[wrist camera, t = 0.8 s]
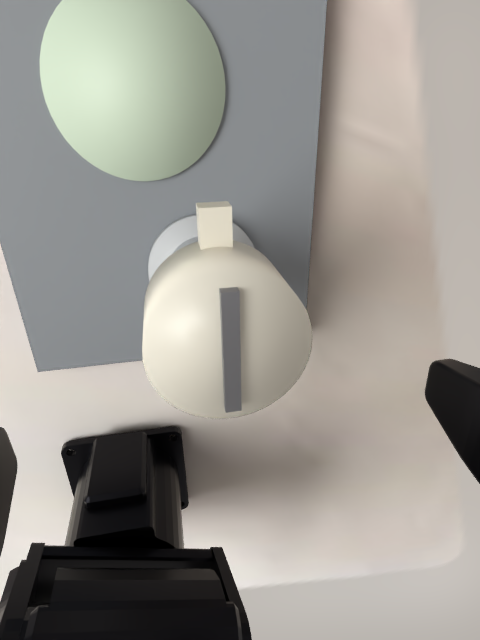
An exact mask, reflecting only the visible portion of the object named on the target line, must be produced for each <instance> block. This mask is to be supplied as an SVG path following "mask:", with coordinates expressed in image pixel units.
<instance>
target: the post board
mask: <svg viewBox="0 0 480 640" xmlns="http://www.w3.org/2000/svg"><path fill="white" fill-rule="evenodd" d="M326 8H327V0H0V244H1V247H2V250H3V254H4V257H5V261H6V264H7V268H8V271H9V274H10V278H11V281H12V285H13V288H14V292H15V295H16V298H17V302H18V305H19V309H20V312H21V316H22V319H23V322H24V326H25V329H26V333H27V336H28V340H29V343H30V346H31V350H32V353H33V357H34V360H35V364H36V367H37V370H38V372H42V371H51V370H60V369H69V368H78V367H87V366H96V365H104V364H113V363H122V362H131V361H140V360H143V357H142V342H143V319H144V301H145V294H146V290H147V287H148V285H149V282H150V280H151V278H152V276H153V274H154V273H155V271H156V270H157V269H158V267H159V266H160V265H161V264H162V263H163V262H164V261H165V260H166V259H167V258H168V257H169V256H170V255H172V254H173V253H174V252H176V251H177V250H179V249H181V248H183V247H184V246H187V245H189V244H192V243H194V242H198V230H197V214H196V203H203V202H222V201H228V202H229V203H230V205H231V206H232V230H233V240H234V241H238V242H242V243H244V244H247V245H249V246H251V247H253V248H255V249H256V250H258V251H259V252H261V253H262V254H263V255H264V256H265V257H266V258H267V259H268V260H269V261H270V262H271V263H272V264H273V266H274V267H275V268H276V269H277V271H278V272H279V273H280V275H281V276H282V277H283V278H284V280H285V281H286V282H287V283H288V285H289V286H290V287H291V289H292V290H293V291H294V292H295V294H296V295H297V296H298V298H299V299H300V300H301V302H302V303H303V305H304V307H305V309H306V310H307V295H308V280H309V265H310V249H311V234H312V219H313V204H314V189H315V174H316V159H317V144H318V129H319V114H320V99H321V83H322V68H323V53H324V38H325V23H326Z"/></svg>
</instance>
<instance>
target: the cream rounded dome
mask: <svg viewBox="0 0 480 640" xmlns="http://www.w3.org/2000/svg"><path fill="white" fill-rule="evenodd" d="M196 214H197V230H198V242H194V243H192V244H189V245H187V246H184V247H183V248H181V249H179V250H177V251H176V252H174V253H173V254H172V255H170V256H169V257H168V258H167V259H166V260H165V261H164V262H163V263H162V264H161V265H160V266H159V267H158V269H157V270H156V271H155V273H154V274H153V276H152V278H151V280H150V282H149V285H148V287H147V290H146V294H145V301H144V319H143V342H142V357H143V364H144V369H145V372H146V374H147V377H148V379H149V381H150V383H151V384H152V386H153V388H154V389H155V390H156V391H157V393H158V394H159V395H160V396H161V397H162V398H163V399H164V400H165V401H166V402H168V403H169V404H171V405H172V406H174V407H175V408H177V409H179V410H181V411H183V412H186V413H188V414H191V415H194V416H198V417H203V418H211V419H226V418H235V417H240V416H244V415H247V414H251V413H254V412H256V411H258V410H261V409H263V408H265V407H267V406H269V405H270V404H272V403H273V402H275V401H276V400H278V399H279V398H280V397H282V396H283V395H284V394H285V393H286V392H287V391H288V390H289V389H290V388H291V387H292V386H293V385H294V384H295V383H296V381H297V380H298V379H299V377H300V376H301V374H302V372H303V371H304V369H305V366H306V364H307V362H308V359H309V356H310V352H311V347H312V328H311V322H310V319H309V315H308V313H307V311H306V309H305V307H304V305H303V303H302V302H301V300H300V299H299V298H298V296H297V295H296V294H295V292H294V291H293V290H292V289H291V287H290V286H289V285H288V283H287V282H286V281H285V280H284V278H283V277H282V276H281V275H280V273H279V272H278V271H277V269H276V268H275V267H274V266H273V264H272V263H271V262H270V261H269V260H268V259H267V258H266V257H265V256H264V255H263V254H262V253H261V252H259V251H258V250H256V249H255V248H253V247H251V246H249V245H247V244H244V243H242V242H238V241H234V240H233V230H232V206H231V205H230V203H229V202H228V201H222V202H203V203H196Z"/></svg>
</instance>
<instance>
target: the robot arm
mask: <svg viewBox="0 0 480 640" xmlns="http://www.w3.org/2000/svg"><path fill="white" fill-rule="evenodd" d="M425 397H426V400H427V402H428V404H429V406H430V408H431V409H432V411H433V413H434V414H435V416H436V418H437V419H438V421H439V423H440V424H441V426H442V428H443V429H444V431H445V433H446V434H447V436H448V438H449V439H450V441H451V443H452V444H453V446H454V448H455V449H456V451H457V452H458V454H459V456H460V457H461V459H462V460H463V461H464V463H465V464H466V466H467V467H468V469H469V470H470V471H471V473H472V474H473V475H474V477H475V478H476V480H477V481H478V482H479V484H480V368H477V367H474V366H471V365H468V364H465V363H462V362H459V361H456V360H453V359H444V360H438V361H434V362H432V364H431V365H430V368H429V373H428V378H427V383H426V388H425ZM170 435H175V436H173V437H170ZM69 449H73V450H75V451H70V450H69ZM61 455H62V458H63V462H64V465H65V468H66V472H67V475H68V479H69V482H70V485H71V489H72V492H73V496H74V502H73V507H72V512H71V517H70V522H69V526H68V531H67V536H66V541H65V546H48V545H45V543H32V544H31V547H30V550H29V553H28V556H27V559H26V560H22V561H21V563H20V566H19V567H17V568H15V569H13V570H11V571H10V573H9V576H8V579H7V582H6V586H5V589H4V592H3V595H2V598H1V601H0V640H252V639H251V632H250V627H249V622H248V618H247V615H246V612H245V609H244V606H243V603H242V601H241V598H240V595H239V592H238V590H237V587H236V584H235V581H234V579H233V576H232V573H231V571H230V568H229V565H228V562H227V560H226V557H225V554H224V551H223V549H222V547H211V548H210V549H184V542H183V528H182V514H181V510H182V509H185V508H186V507H187V506H188V504H189V502H188V492H187V482H186V473H185V464H184V454H183V445H182V435H181V430H180V429H179V428H177V427H165V428H158V429H151V430H144V431H137V432H129V433H122V434H115V435H108V436H101V437H94V438H86V439H79V440H72V441H68V442H66V443H64V445H63V447H62V451H61ZM16 474H17V459H16V456H15V453H14V451H13V448H12V445H11V443H10V440H9V437H8V435H7V432H6V431H5V429H4V428H2V427H0V556H1V552H2V548H3V544H4V539H5V534H6V529H7V523H8V518H9V512H10V507H11V501H12V496H13V490H14V485H15V480H16Z"/></svg>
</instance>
